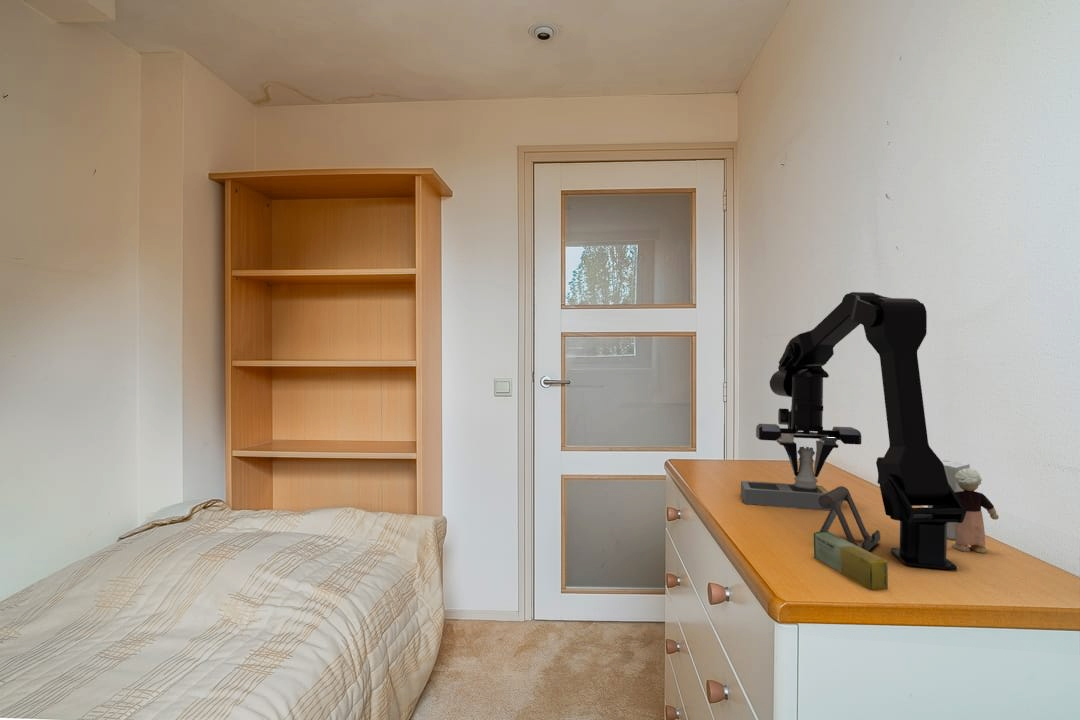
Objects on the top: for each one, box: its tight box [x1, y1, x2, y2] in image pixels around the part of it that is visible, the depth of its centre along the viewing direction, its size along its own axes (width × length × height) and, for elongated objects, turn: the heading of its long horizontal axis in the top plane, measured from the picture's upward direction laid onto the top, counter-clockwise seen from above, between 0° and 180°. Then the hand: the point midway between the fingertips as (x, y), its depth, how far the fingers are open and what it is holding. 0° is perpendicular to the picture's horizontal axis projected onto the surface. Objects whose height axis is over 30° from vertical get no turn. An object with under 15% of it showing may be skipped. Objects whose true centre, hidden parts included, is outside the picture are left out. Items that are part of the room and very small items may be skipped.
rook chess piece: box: [793, 446, 819, 489], centre depth 114 cm, size 4×4×8 cm
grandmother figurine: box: [952, 468, 1000, 554], centre depth 88 cm, size 8×4×13 cm, turn 84°
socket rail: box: [740, 480, 830, 511], centre depth 115 cm, size 8×16×3 cm, turn 76°
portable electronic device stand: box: [819, 486, 881, 552], centre depth 89 cm, size 9×8×8 cm
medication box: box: [813, 530, 889, 591], centre depth 78 cm, size 12×3×4 cm, turn 8°
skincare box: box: [927, 460, 971, 541], centre depth 95 cm, size 6×4×12 cm
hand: (805, 476), depth 114 cm, fingers closed on rook chess piece, 3 cm apart
